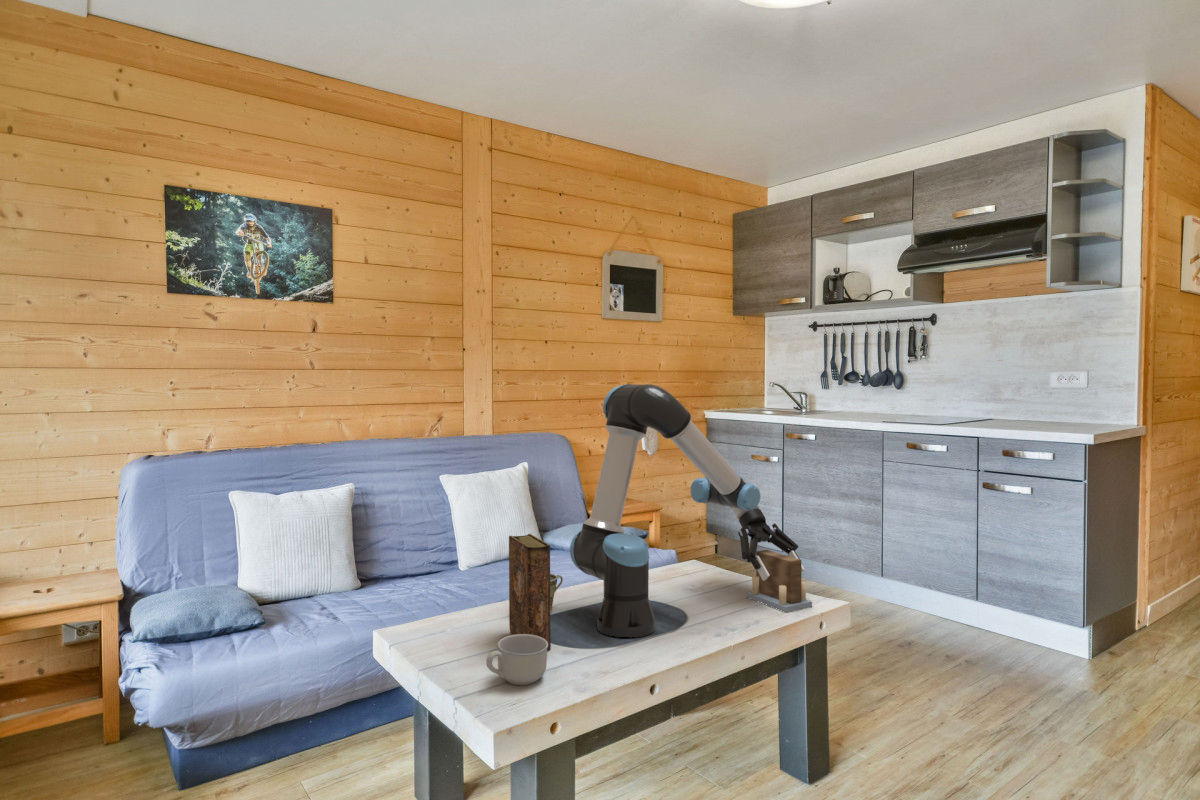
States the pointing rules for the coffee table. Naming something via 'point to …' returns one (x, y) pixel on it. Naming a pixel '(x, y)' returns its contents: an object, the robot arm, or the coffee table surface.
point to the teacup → (520, 658)
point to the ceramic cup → (553, 587)
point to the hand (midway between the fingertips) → (784, 575)
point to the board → (780, 576)
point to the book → (529, 587)
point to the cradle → (781, 602)
